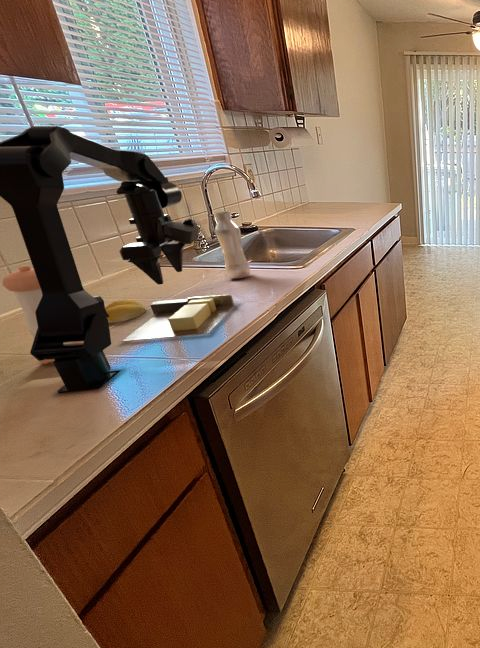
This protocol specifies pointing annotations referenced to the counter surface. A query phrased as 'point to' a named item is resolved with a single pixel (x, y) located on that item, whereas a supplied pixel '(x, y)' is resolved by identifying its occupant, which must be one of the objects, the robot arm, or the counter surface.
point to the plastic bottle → (231, 246)
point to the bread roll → (124, 310)
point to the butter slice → (203, 301)
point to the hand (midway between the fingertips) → (170, 277)
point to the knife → (178, 304)
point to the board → (162, 328)
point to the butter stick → (189, 317)
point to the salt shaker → (27, 296)
